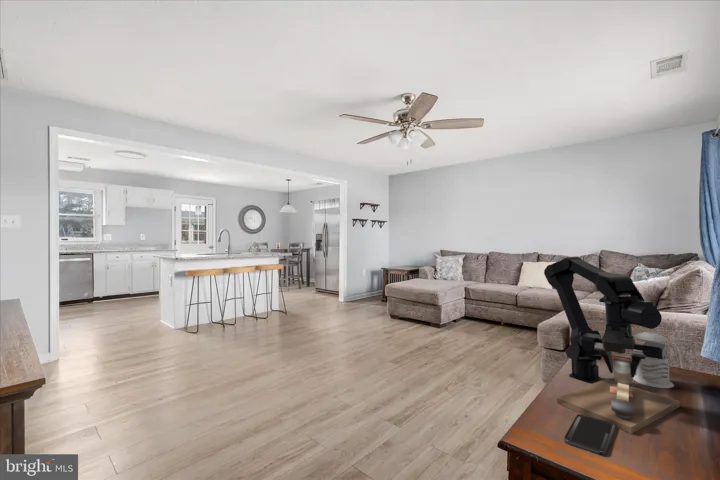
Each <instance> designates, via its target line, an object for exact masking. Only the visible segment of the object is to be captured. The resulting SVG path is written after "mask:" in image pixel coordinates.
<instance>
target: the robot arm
mask: <svg viewBox="0 0 720 480" xmlns="http://www.w3.org/2000/svg"><path fill="white" fill-rule="evenodd" d="M543 270H544V271H543V275H544V276H545V279H546V281H547V282H548V284H549V285H550V286H551V287H552V288H554V289H555V290H556V292H557V295H558V298H559V300H560V302H561V305H562V308H563V311H564V313H565V316H566V318H567V320H568V323H569V326H570V328H571V332H570V337H569V342H570V345H569V346H568V347H567V348H566V349H565V354H566V357H567V358H568V359H570V360H571V373H569V374H568V376H569V377H570V378H573V379H576V380H581V381H583V382H586V383H593V382H594V381H598V380H600V379H601V376H600V373H599V372H600V371H599V369H600V368H599V365H598V362H597V361H601V360H602V358H603V360H604V362H605V365H606V367H607V369H608V370H609V373H610V374H614V360H613V355H612V352H613V353H617V354H621V355H622V354H625V353H626V350H629V351H631V350H632V352H633V353H632V354H631V362H632V367H631V376H632V379H633V378H634V376H635V375H636V374H637V368H638V365H639V363H640V361H641V359H646V358H647V357H651V358H655V359H663V358H664V356H665V357H666V355H665V354H667V353H666V352H667V351H666V349H667V348H666V347H665V346H666V345H665V346H664V343H655V342H647V341H644V343H643V344H641V343H636V340H635V339H636V338H635V336H634V335H633V329H632V328H633V327H632V326H634V325H635V326H638V327H641V328H645V329H649V330H650V329H651V330H653V329H656V328H657V327H659V326H660V325H661V323H662V318H663V317H662V314H661V312H660V311H659V309H658V308H657V307H655V306H654V302H653V301H650V300H649V301H648V300H646V301H645V298H644V297H643V294H642V293H641V292H640V291H639V289H638V288H637V286H636V285H635V283H634V281H633V279H632V278H631V277H630V276H628V275H624V274H620V273H616V272H608V271H606V270H604V269H601V268H600V267H597V266H595V265H593V264H591V263H589V262H587V261H585V260H583V259H582V258H581V257H579V256H567V257H565V258H562V259H561V260H559V261H557V262H553V263H551V264H548V265H547V266H546V267H545V268H544V269H543ZM575 274H577V275H579V276H580V277H582V278H583V279H586V280H587V281H588V282H590V283H592V284H593V285H595V289H596V290H597V291H598V292H600V294H602V295H603V296H602V297H601V298H600V299H599V300H598V301H599V302H600V303H604V308H605V319H606V320H605V321H606V322H605V323H606V324H605V329H604V330H605V331H604V333H603V335H602V337H601V334H600V332H599V330H593V329H592V328H591V327H590V325H589V324H588V322H587V319H586V317H585V314H584V311H583V309H582V306H581V304H580V302H579V299H578V297H577V295H576V292H575V290H574V288H573V287H574V286H573V284H574V280H575V276H574V275H575Z"/></svg>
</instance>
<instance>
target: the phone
mask: <svg viewBox="0 0 720 480" xmlns="http://www.w3.org/2000/svg"><path fill="white" fill-rule="evenodd" d="M615 430H616V427H615V425H614V424H613V423H611V422H607V421H604V420H600V419H597V418H593V417H589V416H587V415H584V414H582V413H579V414H576V415H575V417H574V419H573V421H572V423H571V425H570V426H569V428H568V430H567V431H566V433H565V435H564V439H563V440H564V443H565V444H566V445H569V446H572V447H574V448H578V449H581V450H584V451H587V452H588V453H589V452H590V453H593V454H596V455H599V456H603V457H604V456H607V455H608V453H609V449H610V447H611V442H612V440H613V436H614V434H615Z"/></svg>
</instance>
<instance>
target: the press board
mask: <svg viewBox="0 0 720 480" xmlns="http://www.w3.org/2000/svg"><path fill="white" fill-rule="evenodd" d="M617 387H618V382H616V381H615V380H613V379H610V378H603V379H602V380H599V381H597V382H594V383H591V384H589V385H587V386H582V387H581V388H579V389H576V390H573V391H570V392H568V393H566V394H563V395H560V396H557V397H556V403H557V404H558V405H560V406H563V407H566V408H568V409H570V410H573V411H576V412H577V413H579V414H582V415H586V416H589V417H593V418H597V419H600V420H604V421H607V422H611V423H613V424H614V425H615V429H618V430H620V431H624V432H626V433H628V434H630V435H633V434H634V433H636V432H637V431H639V430H642V429H643V428H645V427H647V426H648V425H650V424H652V423H654V422H656V421H658V420H659V419H660V418H662V417H664V416H666V415H668V414H669V413H671V412H673V411H676V410H677V409H679V408H680V407H681V406H680V405H681V404H680V400H678V399H674V398H670V397H668V396H664V395H661V394H658V393H655V392H652V391H648V390H644V389H642V388H638V387H635V386H632V385H629V402H631V403H632V404H633V405H634V415H630V416H628V415H622V414H618V413H616V412H614V411H613V410H612V409H611V400H612V399H616V397H617Z"/></svg>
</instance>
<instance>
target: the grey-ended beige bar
mask: <svg viewBox="0 0 720 480" xmlns="http://www.w3.org/2000/svg"><path fill="white" fill-rule="evenodd" d="M631 367H632V360H629V359H627V358H622V357H614V358H613V374H614V375H613V377H614V381H616V382H618V387H617V397H616V399H612V400H611V409H612V410H613V411H614V412H616V413H618V414H622V415H628V416H630V415H634V405H633V404H632V403H631V402H629V386H631V385H633V378H632V376H631Z"/></svg>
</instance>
